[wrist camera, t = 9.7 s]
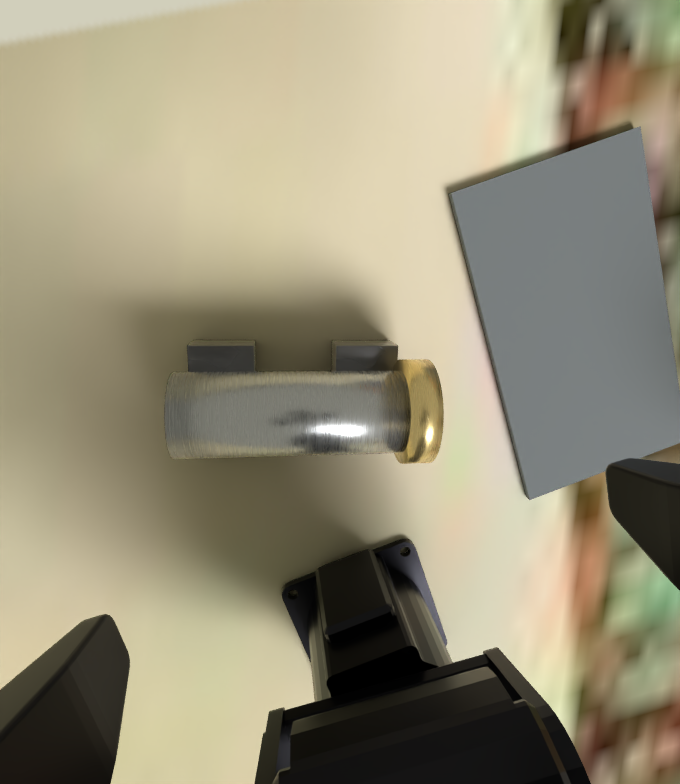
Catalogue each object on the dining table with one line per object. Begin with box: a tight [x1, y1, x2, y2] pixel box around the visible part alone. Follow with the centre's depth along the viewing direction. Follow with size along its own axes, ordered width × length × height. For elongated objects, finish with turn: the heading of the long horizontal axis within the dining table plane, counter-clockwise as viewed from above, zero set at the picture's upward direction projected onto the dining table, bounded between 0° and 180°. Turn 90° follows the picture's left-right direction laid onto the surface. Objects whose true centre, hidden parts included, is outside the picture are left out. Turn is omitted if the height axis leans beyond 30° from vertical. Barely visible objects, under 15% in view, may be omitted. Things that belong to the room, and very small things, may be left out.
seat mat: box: [449, 127, 680, 500], centre depth 21 cm, size 14×8×1 cm, turn 19°
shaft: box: [165, 340, 443, 464], centre depth 18 cm, size 9×4×5 cm, turn 89°
